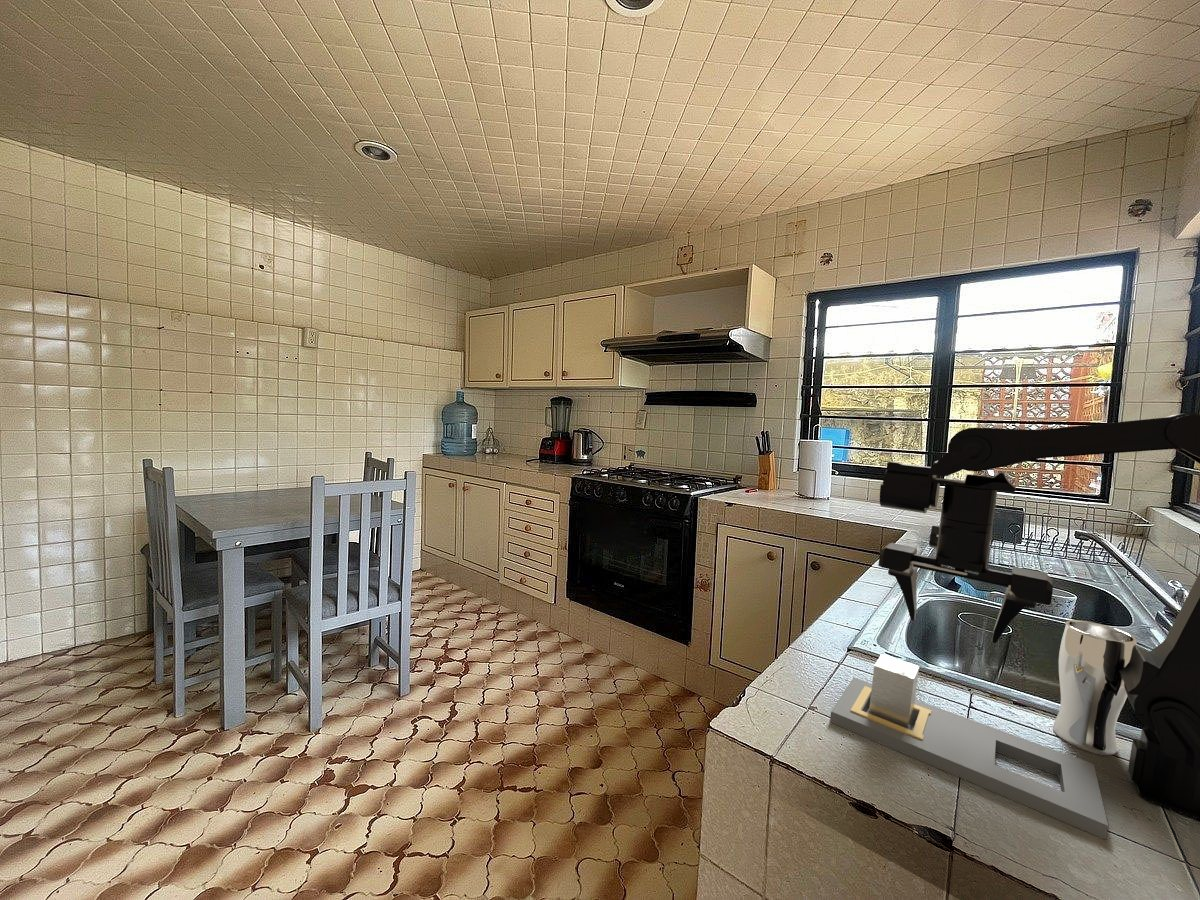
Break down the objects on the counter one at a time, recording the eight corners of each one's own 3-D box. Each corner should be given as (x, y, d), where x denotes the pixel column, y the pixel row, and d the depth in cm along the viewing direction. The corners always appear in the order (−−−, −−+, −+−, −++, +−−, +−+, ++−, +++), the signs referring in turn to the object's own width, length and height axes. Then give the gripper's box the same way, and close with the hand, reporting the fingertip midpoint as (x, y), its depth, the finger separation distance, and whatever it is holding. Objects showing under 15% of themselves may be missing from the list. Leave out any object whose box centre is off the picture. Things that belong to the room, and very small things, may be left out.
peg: (912, 722, 67) (919, 666, 67) (906, 738, 64) (913, 679, 63) (875, 708, 70) (881, 653, 69) (867, 722, 67) (874, 665, 66)
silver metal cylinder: (1036, 728, 68) (1051, 621, 67) (1067, 719, 70) (1082, 616, 69) (1102, 763, 61) (1120, 646, 60) (1133, 752, 64) (1152, 639, 62)
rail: (1091, 775, 59) (1093, 762, 59) (1105, 839, 50) (1108, 823, 50) (852, 686, 75) (853, 675, 75) (829, 722, 66) (831, 709, 66)
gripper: (1055, 525, 68) (1039, 635, 69) (898, 501, 80) (887, 596, 81) (1060, 538, 59) (1042, 664, 61) (883, 510, 71) (871, 615, 72)
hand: (951, 630), depth 69 cm, fingers open, 9 cm apart
